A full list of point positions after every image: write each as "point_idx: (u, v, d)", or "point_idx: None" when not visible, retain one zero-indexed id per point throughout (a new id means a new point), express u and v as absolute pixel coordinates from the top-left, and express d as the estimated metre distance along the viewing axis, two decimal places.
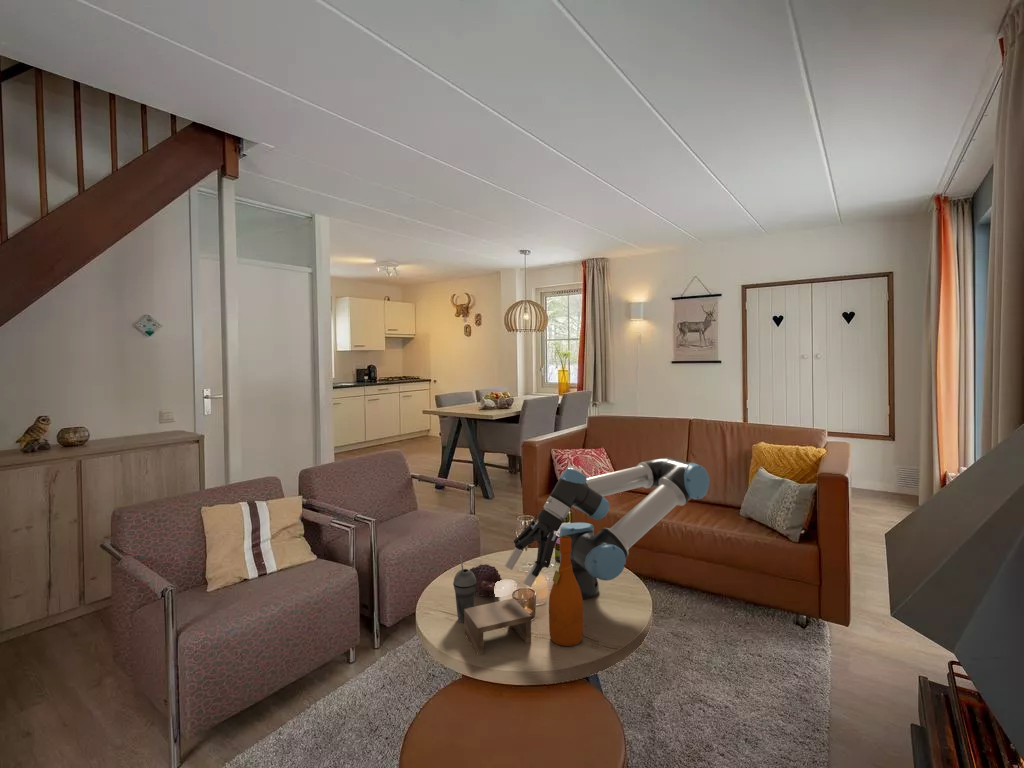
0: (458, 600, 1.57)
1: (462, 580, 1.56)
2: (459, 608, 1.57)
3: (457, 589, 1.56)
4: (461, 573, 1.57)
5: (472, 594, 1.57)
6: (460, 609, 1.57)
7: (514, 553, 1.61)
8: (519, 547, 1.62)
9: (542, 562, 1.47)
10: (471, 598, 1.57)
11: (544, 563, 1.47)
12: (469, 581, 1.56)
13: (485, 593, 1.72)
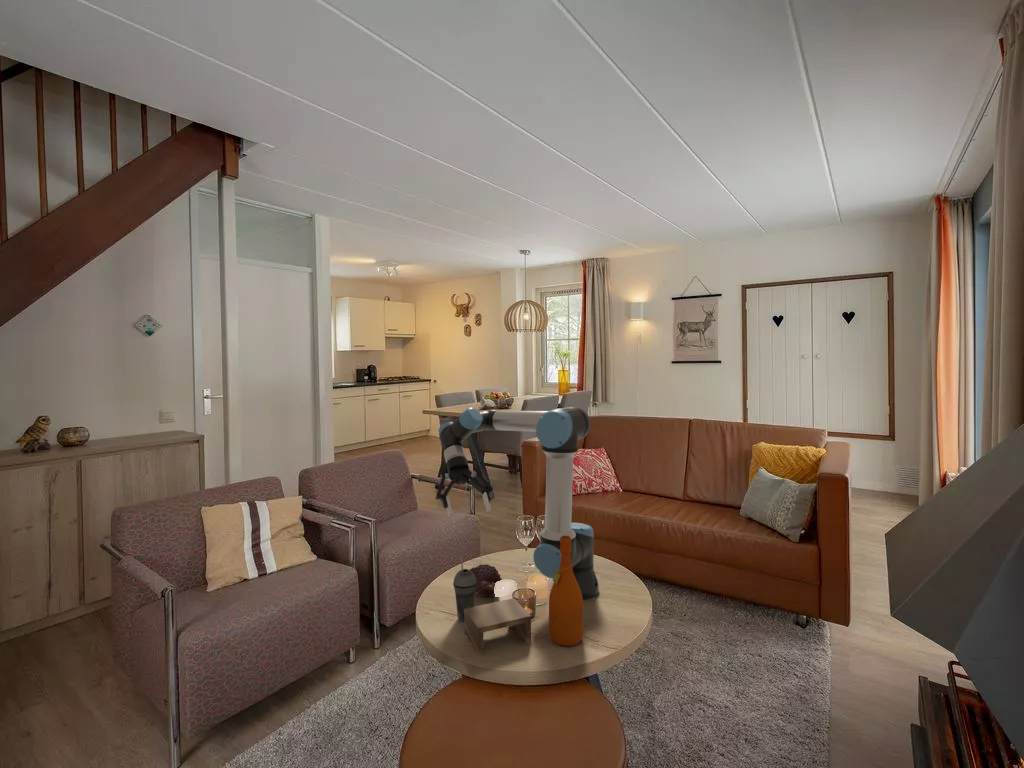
0: (458, 600, 1.57)
1: (462, 580, 1.56)
2: (459, 608, 1.57)
3: (457, 589, 1.56)
4: (461, 573, 1.57)
5: (472, 594, 1.57)
6: (460, 609, 1.57)
7: (483, 500, 1.78)
8: None
9: None
10: (471, 598, 1.57)
11: (436, 496, 1.73)
12: (469, 581, 1.56)
13: (485, 593, 1.72)
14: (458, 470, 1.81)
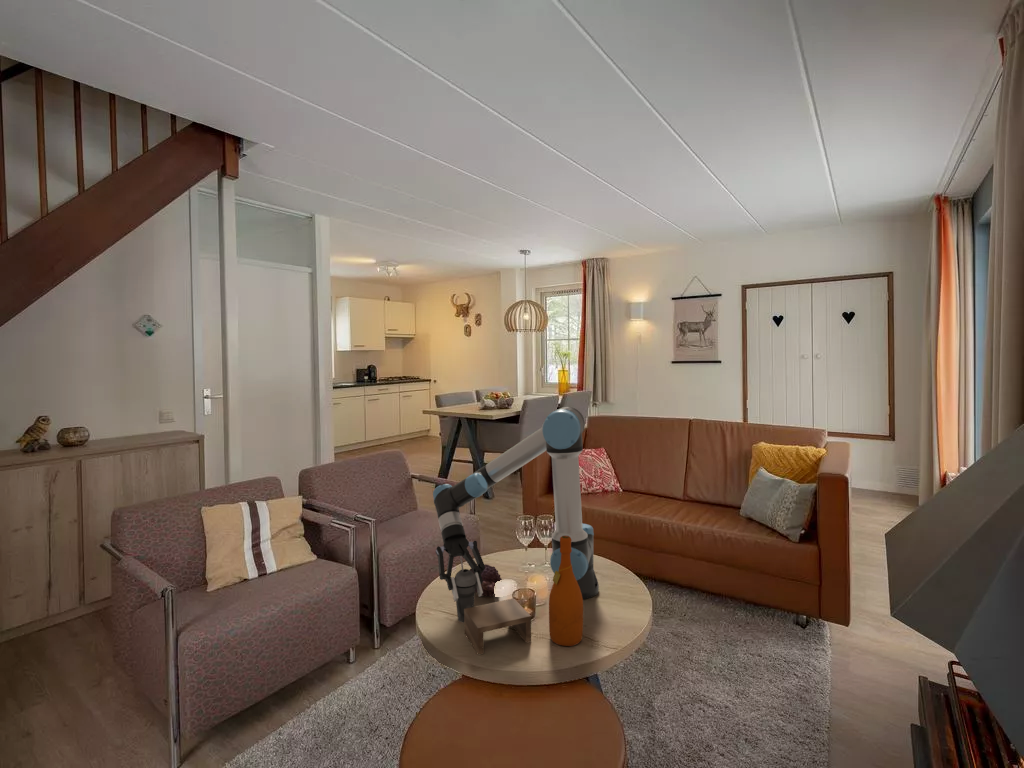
0: (458, 600, 1.57)
1: (462, 580, 1.56)
2: (459, 608, 1.57)
3: (457, 589, 1.56)
4: (461, 573, 1.57)
5: (472, 594, 1.57)
6: (460, 609, 1.57)
7: None
8: (475, 571, 1.62)
9: None
10: (471, 598, 1.57)
11: (440, 577, 1.58)
12: (469, 581, 1.56)
13: (485, 593, 1.72)
14: (454, 540, 1.66)
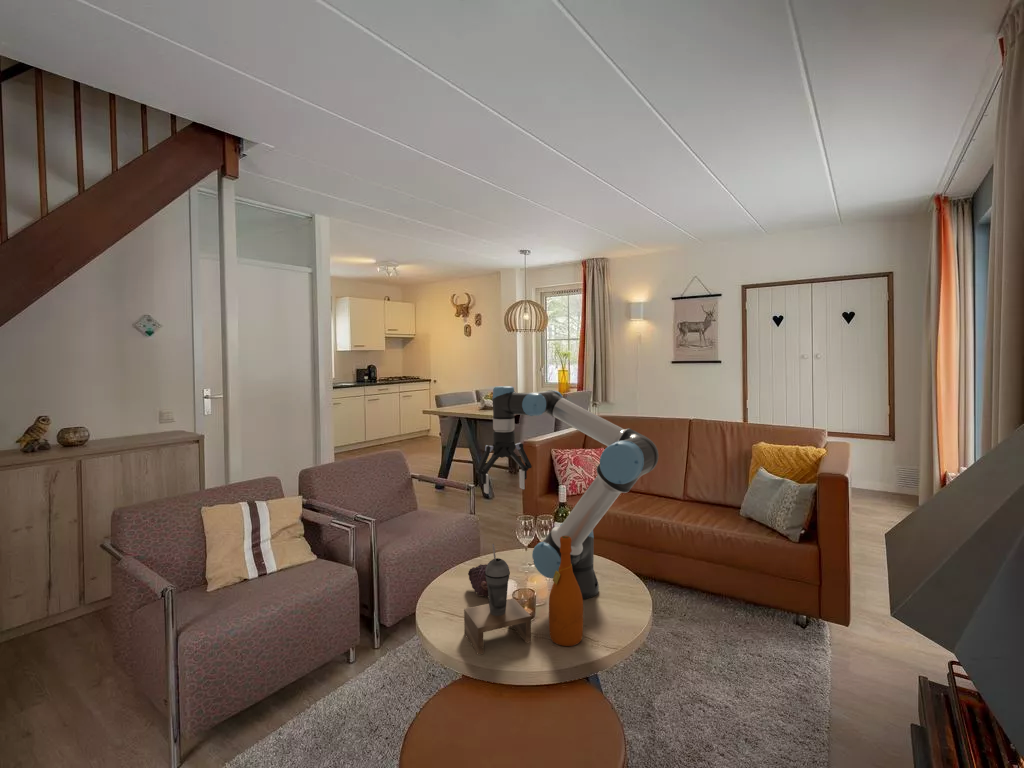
0: (490, 591, 1.46)
1: (495, 570, 1.45)
2: (491, 600, 1.46)
3: (490, 579, 1.45)
4: (494, 562, 1.46)
5: (505, 585, 1.46)
6: (493, 601, 1.46)
7: (519, 474, 1.83)
8: (522, 468, 1.82)
9: None
10: (504, 589, 1.46)
11: (476, 470, 1.75)
12: (502, 571, 1.45)
13: (485, 593, 1.72)
14: (503, 444, 1.77)
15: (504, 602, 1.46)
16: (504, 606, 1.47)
